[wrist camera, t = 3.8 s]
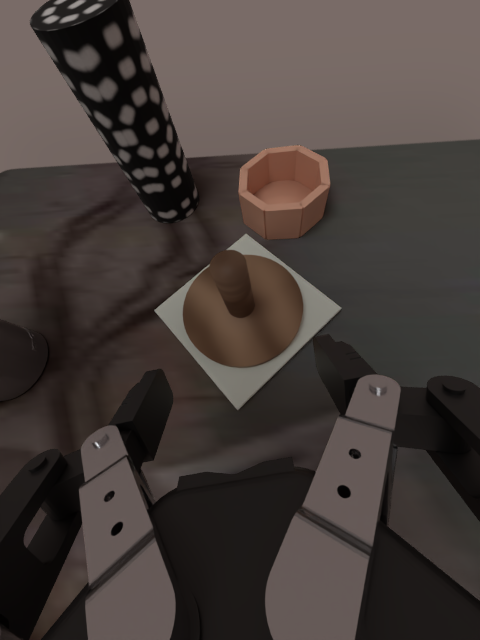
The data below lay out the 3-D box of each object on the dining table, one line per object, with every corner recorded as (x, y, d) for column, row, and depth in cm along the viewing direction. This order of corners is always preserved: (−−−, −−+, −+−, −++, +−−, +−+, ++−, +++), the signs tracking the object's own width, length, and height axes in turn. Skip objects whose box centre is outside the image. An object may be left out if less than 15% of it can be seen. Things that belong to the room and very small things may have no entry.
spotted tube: (170, 232, 36) (58, 39, 17) (139, 207, 39) (14, 20, 20) (209, 197, 37) (144, -14, 19) (176, 176, 40) (91, -25, 22)
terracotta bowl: (282, 252, 32) (283, 225, 27) (229, 212, 36) (222, 182, 31) (338, 203, 33) (348, 170, 29) (281, 170, 37) (281, 135, 33)
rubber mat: (238, 409, 25) (237, 409, 24) (157, 312, 31) (154, 310, 30) (339, 310, 28) (341, 308, 27) (246, 237, 33) (246, 233, 33)
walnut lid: (237, 395, 25) (218, 386, 17) (164, 310, 30) (120, 269, 22) (328, 308, 27) (351, 260, 19) (245, 242, 32) (234, 180, 24)
